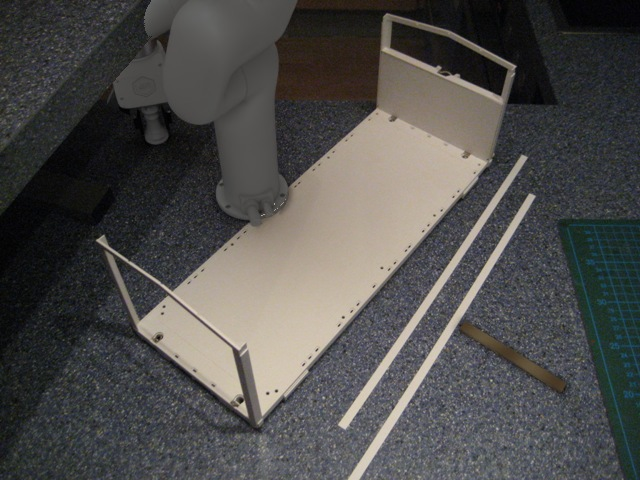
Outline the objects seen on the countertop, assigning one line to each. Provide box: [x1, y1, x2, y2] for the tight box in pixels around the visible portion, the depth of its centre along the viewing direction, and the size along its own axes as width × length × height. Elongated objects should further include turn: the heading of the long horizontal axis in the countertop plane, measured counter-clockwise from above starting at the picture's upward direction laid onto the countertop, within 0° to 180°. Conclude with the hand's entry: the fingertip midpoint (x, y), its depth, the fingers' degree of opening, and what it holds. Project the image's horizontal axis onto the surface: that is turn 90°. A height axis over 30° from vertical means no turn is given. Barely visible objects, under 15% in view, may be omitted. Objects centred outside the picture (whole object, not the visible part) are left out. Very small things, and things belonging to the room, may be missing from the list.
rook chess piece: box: [140, 104, 170, 146], centre depth 116 cm, size 4×4×8 cm
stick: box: [459, 320, 567, 394], centre depth 88 cm, size 16×2×1 cm, turn 51°
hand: (154, 127), depth 117 cm, fingers open, 4 cm apart
